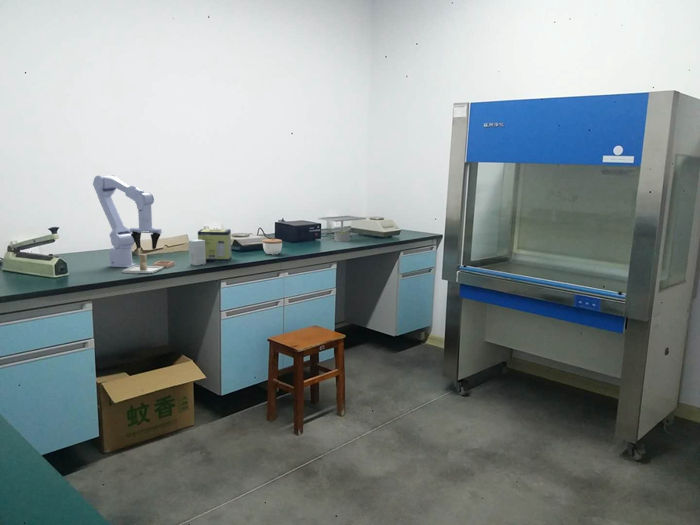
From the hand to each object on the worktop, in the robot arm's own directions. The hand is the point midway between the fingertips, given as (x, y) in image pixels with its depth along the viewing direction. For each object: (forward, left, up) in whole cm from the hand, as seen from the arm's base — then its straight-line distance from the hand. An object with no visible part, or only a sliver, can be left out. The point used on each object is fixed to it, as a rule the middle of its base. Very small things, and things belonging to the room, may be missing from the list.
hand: (146, 248), depth 260 cm
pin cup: (+4, +9, -10) cm, 14 cm away
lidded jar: (+46, +55, -10) cm, 73 cm away
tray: (0, -4, -10) cm, 11 cm away
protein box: (+22, +30, -10) cm, 39 cm away
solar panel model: (+77, +117, -10) cm, 141 cm away
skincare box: (+18, +17, -10) cm, 27 cm away
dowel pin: (0, -4, -9) cm, 10 cm away
